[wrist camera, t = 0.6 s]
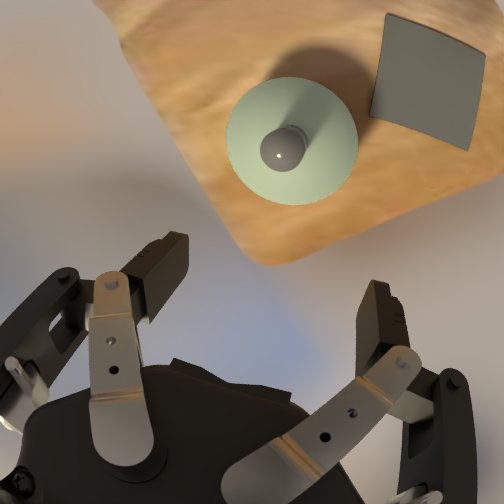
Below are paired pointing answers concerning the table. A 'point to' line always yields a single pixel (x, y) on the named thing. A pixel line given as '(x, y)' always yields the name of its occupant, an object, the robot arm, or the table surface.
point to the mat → (428, 82)
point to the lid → (292, 140)
